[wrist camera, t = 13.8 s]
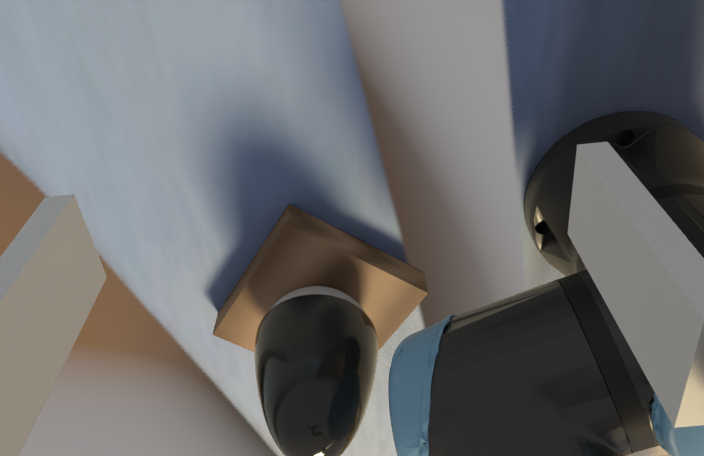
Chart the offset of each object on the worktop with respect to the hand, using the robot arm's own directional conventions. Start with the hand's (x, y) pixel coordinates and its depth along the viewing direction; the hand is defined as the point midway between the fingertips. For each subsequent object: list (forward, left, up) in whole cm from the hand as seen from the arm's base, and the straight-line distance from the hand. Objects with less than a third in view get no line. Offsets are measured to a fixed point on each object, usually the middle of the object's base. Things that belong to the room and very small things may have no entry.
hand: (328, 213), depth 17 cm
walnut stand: (-13, +25, -32) cm, 42 cm away
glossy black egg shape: (-13, +25, -29) cm, 40 cm away
